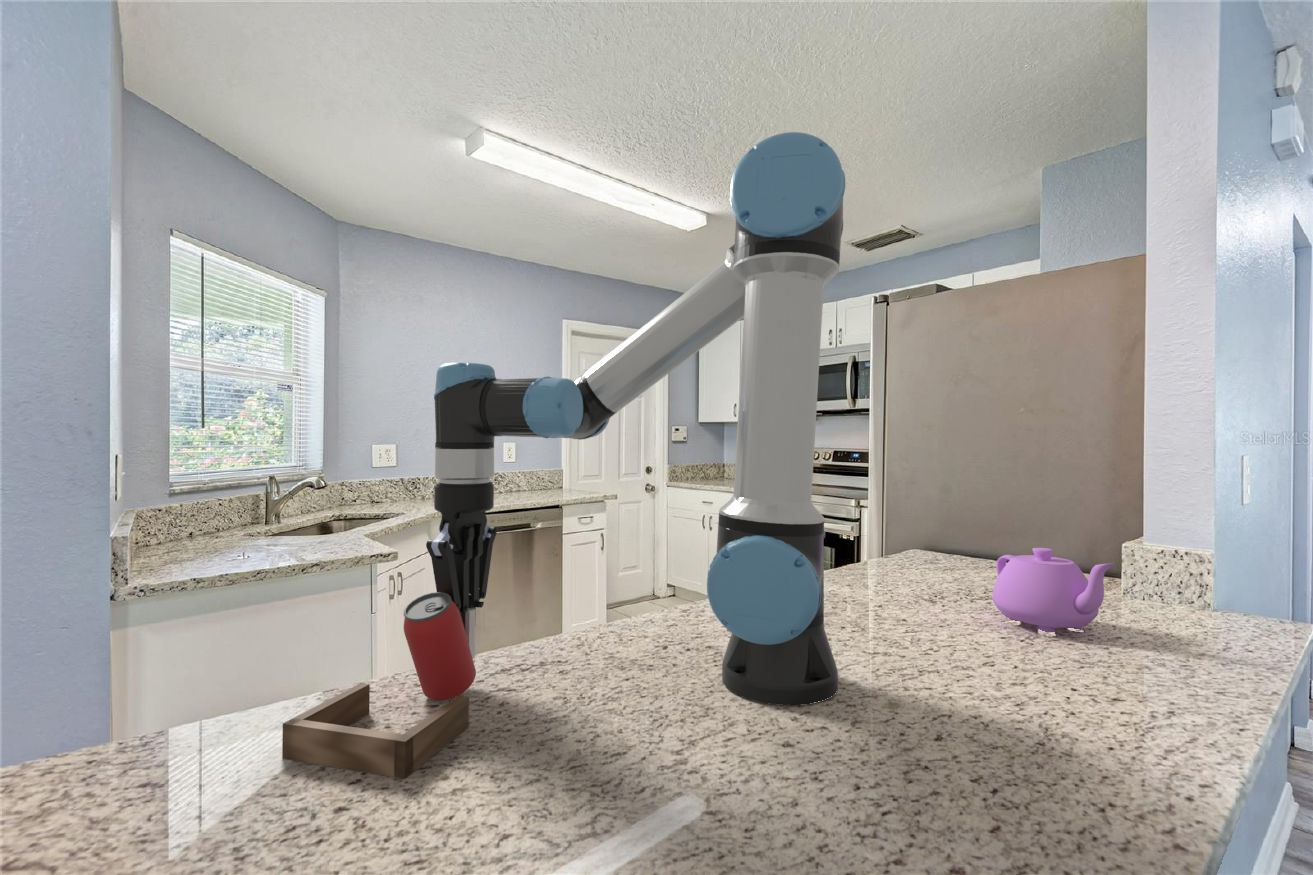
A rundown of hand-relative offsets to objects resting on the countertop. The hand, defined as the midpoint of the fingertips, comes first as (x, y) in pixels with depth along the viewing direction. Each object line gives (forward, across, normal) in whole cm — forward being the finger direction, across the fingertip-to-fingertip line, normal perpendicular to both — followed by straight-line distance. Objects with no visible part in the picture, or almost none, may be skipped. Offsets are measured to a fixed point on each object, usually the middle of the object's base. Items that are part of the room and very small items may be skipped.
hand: (463, 658), depth 80 cm
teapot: (+3, -49, +84) cm, 97 cm away
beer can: (+2, +3, 0) cm, 4 cm away
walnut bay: (+3, +16, +1) cm, 16 cm away
